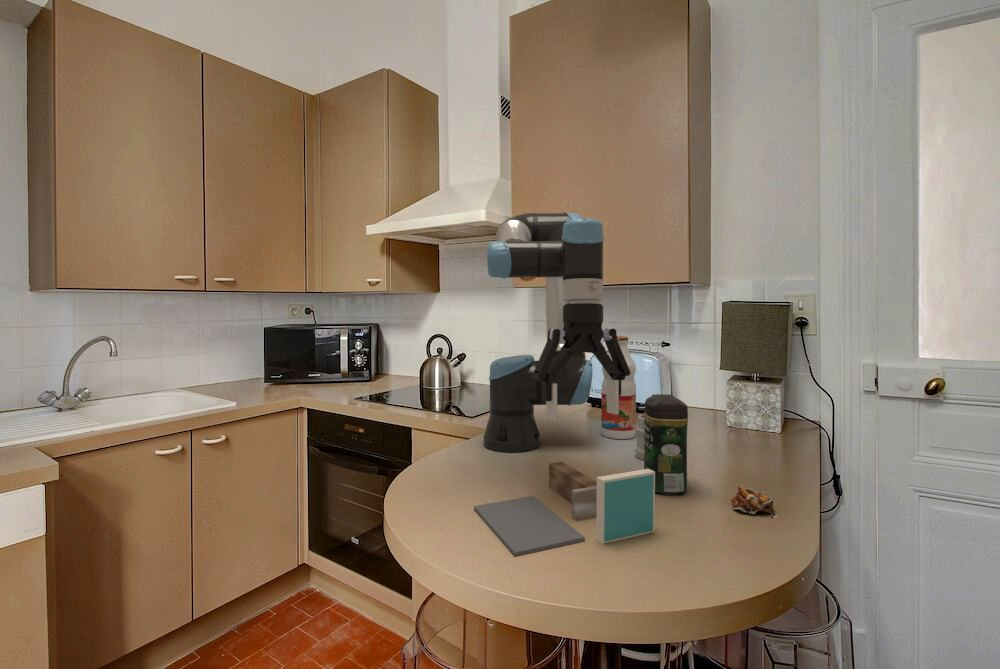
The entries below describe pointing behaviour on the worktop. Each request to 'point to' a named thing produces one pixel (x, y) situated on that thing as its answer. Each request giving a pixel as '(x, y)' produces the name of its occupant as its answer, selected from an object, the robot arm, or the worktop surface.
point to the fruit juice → (620, 401)
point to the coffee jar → (666, 442)
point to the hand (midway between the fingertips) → (583, 416)
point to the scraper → (574, 489)
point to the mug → (640, 437)
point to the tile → (625, 505)
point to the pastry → (752, 501)
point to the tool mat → (527, 525)
